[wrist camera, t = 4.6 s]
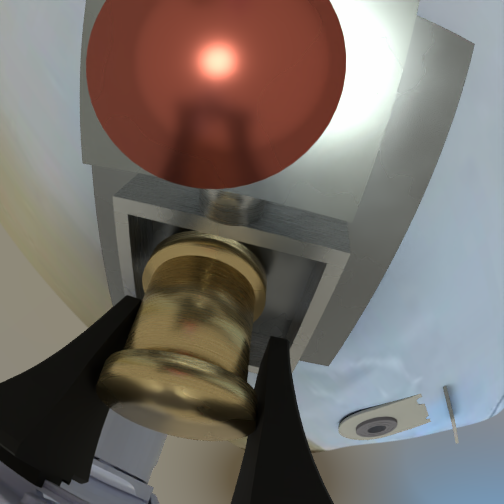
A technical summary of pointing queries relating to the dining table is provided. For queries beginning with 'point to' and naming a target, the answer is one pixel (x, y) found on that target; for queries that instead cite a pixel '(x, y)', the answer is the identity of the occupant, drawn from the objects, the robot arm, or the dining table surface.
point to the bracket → (389, 419)
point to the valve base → (334, 165)
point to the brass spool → (191, 341)
